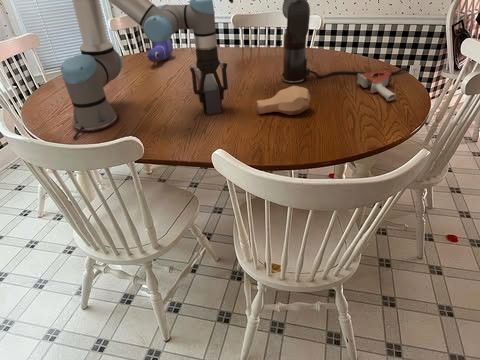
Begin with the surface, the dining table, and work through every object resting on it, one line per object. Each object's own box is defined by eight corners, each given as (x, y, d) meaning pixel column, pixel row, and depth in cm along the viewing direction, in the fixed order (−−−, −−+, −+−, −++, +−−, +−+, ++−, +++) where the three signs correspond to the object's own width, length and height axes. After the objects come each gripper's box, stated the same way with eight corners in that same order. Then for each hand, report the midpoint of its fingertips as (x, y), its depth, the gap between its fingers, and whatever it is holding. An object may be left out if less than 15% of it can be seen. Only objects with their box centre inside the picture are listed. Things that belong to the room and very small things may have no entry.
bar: (221, 112, 135) (219, 88, 129) (207, 114, 134) (205, 91, 128) (210, 90, 153) (208, 68, 147) (198, 92, 152) (195, 70, 146)
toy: (161, 62, 200) (141, 68, 178) (157, 30, 193) (135, 32, 171) (177, 61, 198) (159, 67, 176) (173, 29, 191) (154, 30, 169)
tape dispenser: (391, 107, 134) (404, 85, 146) (394, 94, 130) (407, 73, 143) (345, 96, 141) (361, 77, 154) (348, 84, 138) (364, 65, 150)
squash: (314, 116, 128) (313, 95, 122) (259, 125, 130) (256, 105, 124) (308, 99, 136) (307, 78, 129) (257, 108, 138) (253, 88, 131)
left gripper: (229, 40, 127) (233, 101, 141) (178, 47, 124) (187, 108, 138) (234, 46, 122) (238, 109, 135) (181, 53, 118) (190, 116, 132)
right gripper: (256, -52, 128) (257, -2, 138) (218, -49, 126) (222, 1, 135) (263, -51, 122) (263, 1, 132) (222, -48, 120) (226, 5, 129)
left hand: (212, 108), depth 137 cm, fingers closed on bar, 5 cm apart
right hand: (242, 1), depth 133 cm, fingers open, 8 cm apart
